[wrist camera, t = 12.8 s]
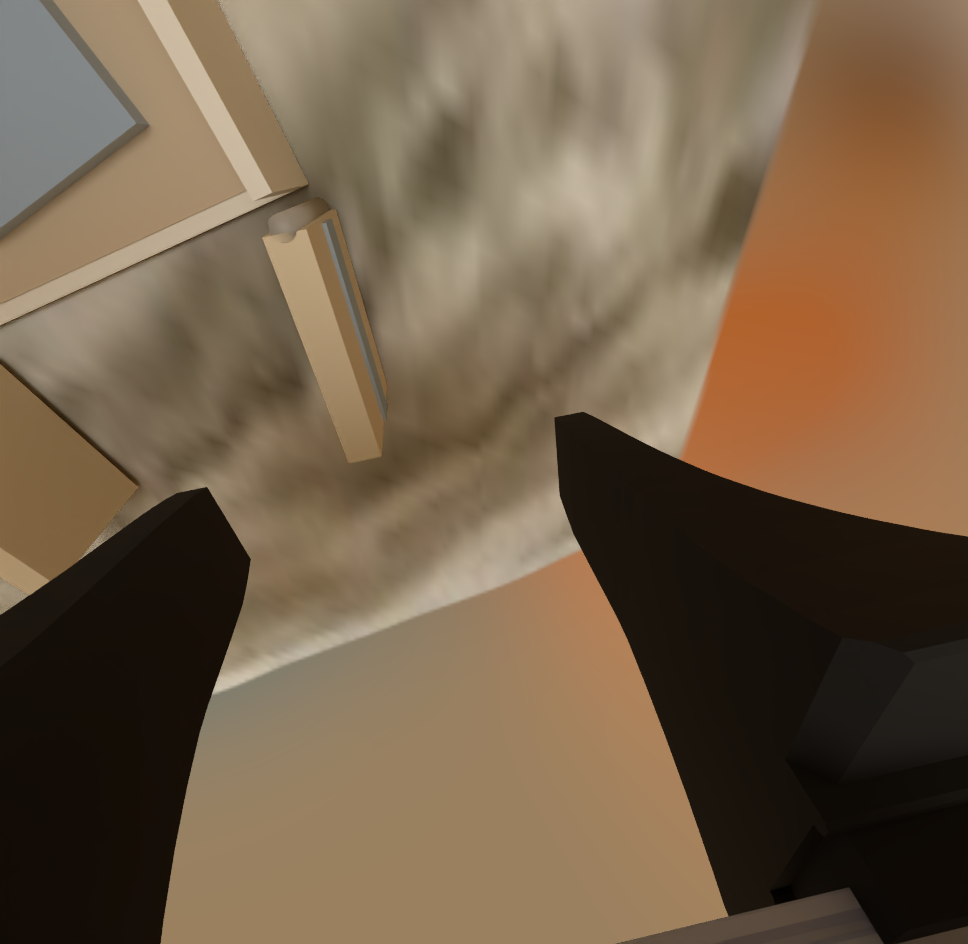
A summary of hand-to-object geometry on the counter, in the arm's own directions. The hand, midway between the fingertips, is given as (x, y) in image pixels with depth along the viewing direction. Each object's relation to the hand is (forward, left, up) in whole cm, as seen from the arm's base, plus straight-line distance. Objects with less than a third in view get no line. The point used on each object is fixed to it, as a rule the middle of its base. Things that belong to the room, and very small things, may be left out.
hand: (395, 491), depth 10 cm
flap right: (-1, +2, -10) cm, 10 cm away
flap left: (-13, +2, -10) cm, 16 cm away
